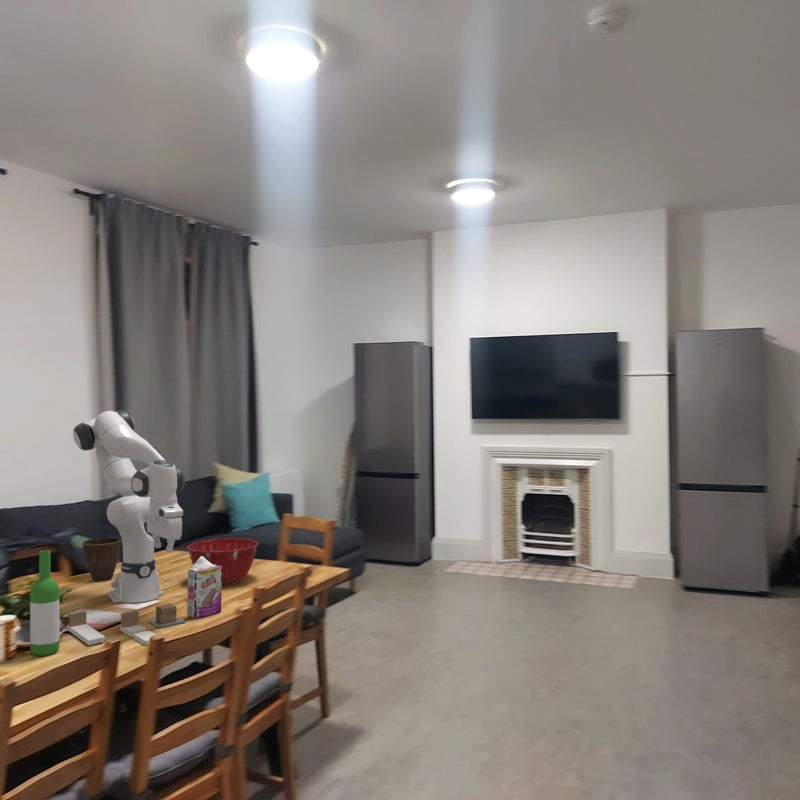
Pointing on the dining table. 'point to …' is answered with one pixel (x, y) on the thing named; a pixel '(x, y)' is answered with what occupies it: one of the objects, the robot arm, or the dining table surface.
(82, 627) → the strip
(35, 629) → the wine bottle
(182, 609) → the dining table surface
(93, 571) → the plant pot
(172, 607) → the cube
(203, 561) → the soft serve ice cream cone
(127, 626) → the strip broken
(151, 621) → the coaster
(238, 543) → the mixing bowl
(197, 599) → the candy bar box
